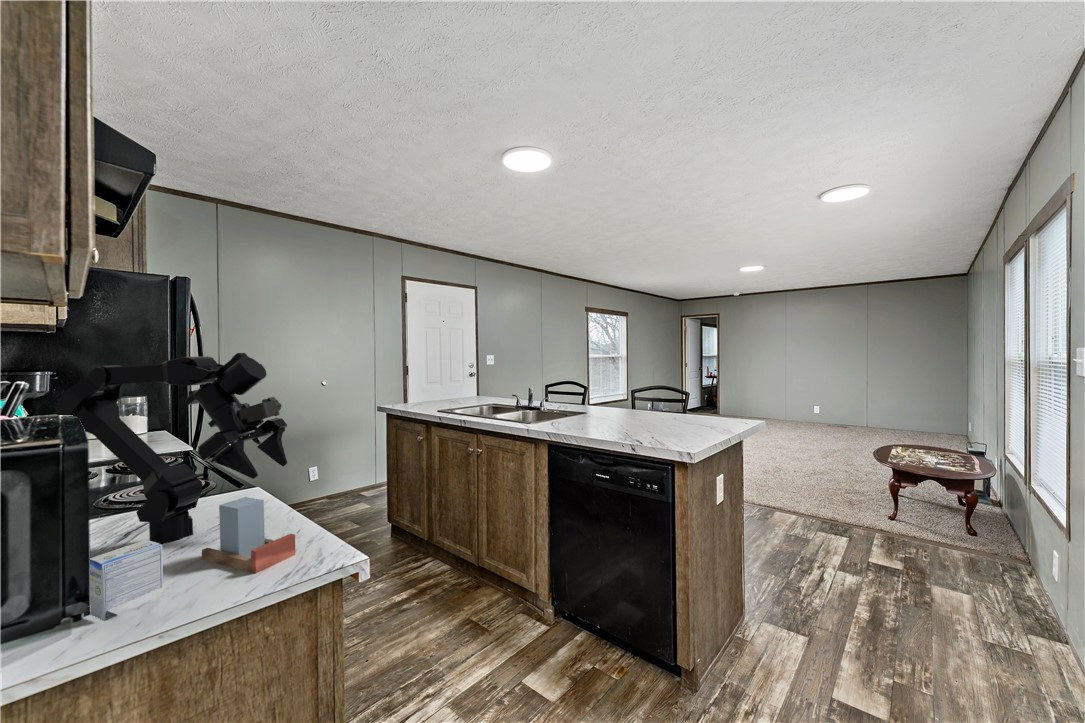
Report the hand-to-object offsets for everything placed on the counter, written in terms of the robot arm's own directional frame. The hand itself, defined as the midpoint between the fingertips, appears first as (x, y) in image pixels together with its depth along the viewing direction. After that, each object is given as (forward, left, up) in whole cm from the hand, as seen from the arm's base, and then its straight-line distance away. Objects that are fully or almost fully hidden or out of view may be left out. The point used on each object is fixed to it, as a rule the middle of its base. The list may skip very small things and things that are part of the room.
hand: (271, 470), depth 94 cm
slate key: (-6, -4, -14) cm, 16 cm away
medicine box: (-22, -8, -16) cm, 28 cm away
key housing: (-5, -5, -16) cm, 17 cm away
